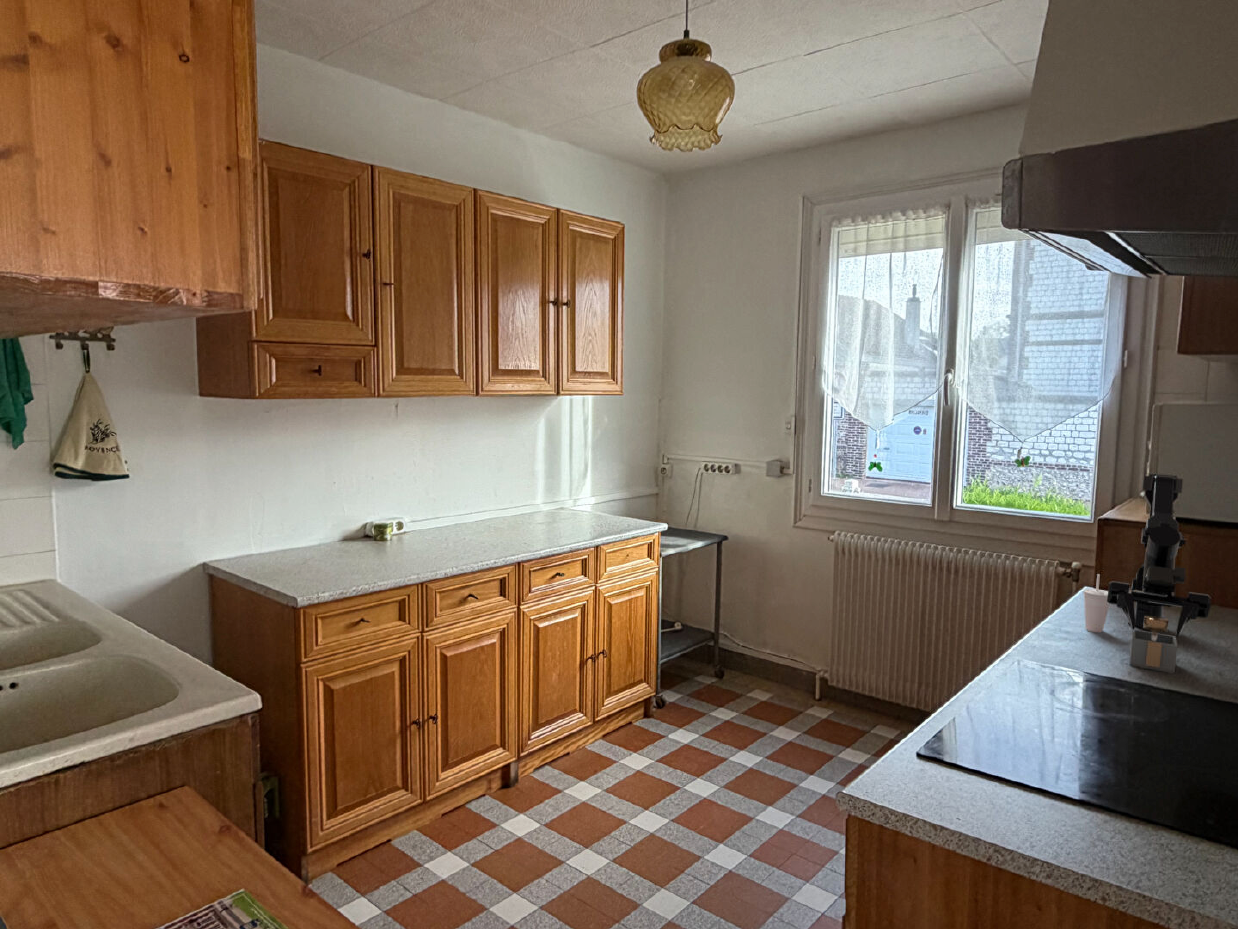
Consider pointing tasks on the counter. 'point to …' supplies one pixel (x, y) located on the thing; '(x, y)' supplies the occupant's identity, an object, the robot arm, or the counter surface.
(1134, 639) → the grey open box
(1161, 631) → the plunger
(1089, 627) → the smoothie
